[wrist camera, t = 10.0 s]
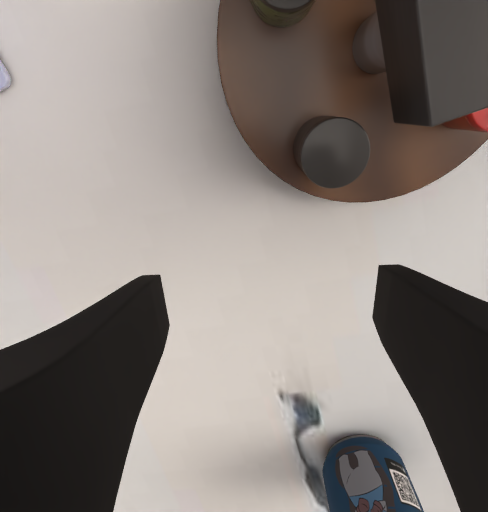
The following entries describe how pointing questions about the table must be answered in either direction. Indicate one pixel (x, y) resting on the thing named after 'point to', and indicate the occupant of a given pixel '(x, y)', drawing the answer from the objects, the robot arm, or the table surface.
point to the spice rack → (356, 90)
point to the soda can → (367, 477)
